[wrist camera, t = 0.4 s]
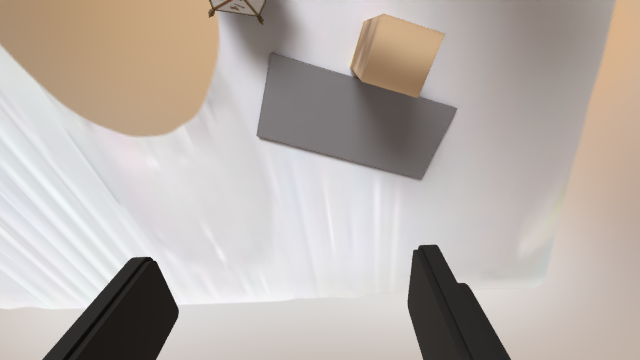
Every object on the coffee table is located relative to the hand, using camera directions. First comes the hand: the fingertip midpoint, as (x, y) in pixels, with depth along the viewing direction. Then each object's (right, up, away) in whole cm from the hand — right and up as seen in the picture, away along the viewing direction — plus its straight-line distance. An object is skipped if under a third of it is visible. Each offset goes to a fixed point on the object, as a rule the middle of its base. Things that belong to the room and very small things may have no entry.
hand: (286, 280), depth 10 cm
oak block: (+8, +19, +22) cm, 30 cm away
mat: (+6, +11, +26) cm, 29 cm away
